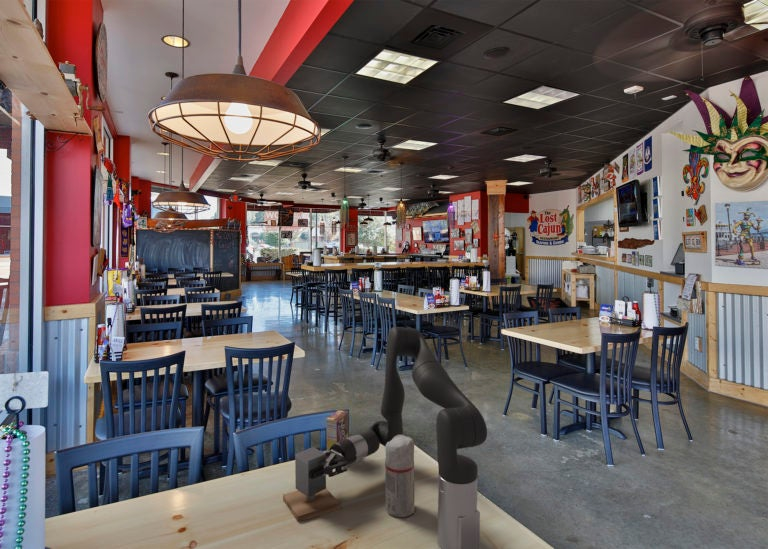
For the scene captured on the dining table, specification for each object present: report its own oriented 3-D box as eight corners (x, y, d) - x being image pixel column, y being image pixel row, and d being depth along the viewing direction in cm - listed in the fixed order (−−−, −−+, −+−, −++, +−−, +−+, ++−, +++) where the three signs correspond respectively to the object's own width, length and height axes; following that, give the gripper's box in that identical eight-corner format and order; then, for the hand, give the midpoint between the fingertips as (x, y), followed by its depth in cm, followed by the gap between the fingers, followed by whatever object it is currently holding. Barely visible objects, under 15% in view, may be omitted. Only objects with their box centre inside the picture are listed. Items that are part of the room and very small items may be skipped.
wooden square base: (339, 508, 121) (339, 479, 120) (297, 522, 114) (297, 491, 114) (322, 488, 131) (322, 461, 131) (283, 499, 125) (282, 471, 124)
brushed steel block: (326, 488, 123) (325, 453, 122) (308, 497, 118) (308, 461, 118) (313, 480, 127) (312, 446, 126) (295, 488, 123) (295, 453, 122)
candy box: (337, 452, 155) (337, 409, 154) (348, 454, 153) (348, 411, 153) (325, 463, 146) (325, 418, 146) (337, 465, 145) (337, 420, 144)
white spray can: (412, 521, 115) (413, 446, 114) (382, 517, 117) (382, 443, 116) (417, 503, 123) (417, 433, 122) (388, 499, 125) (388, 430, 124)
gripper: (334, 431, 137) (288, 449, 125) (365, 446, 127) (319, 466, 115) (334, 455, 138) (288, 474, 126) (365, 471, 128) (319, 494, 116)
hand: (303, 470), depth 121 cm, fingers closed on brushed steel block, 6 cm apart
